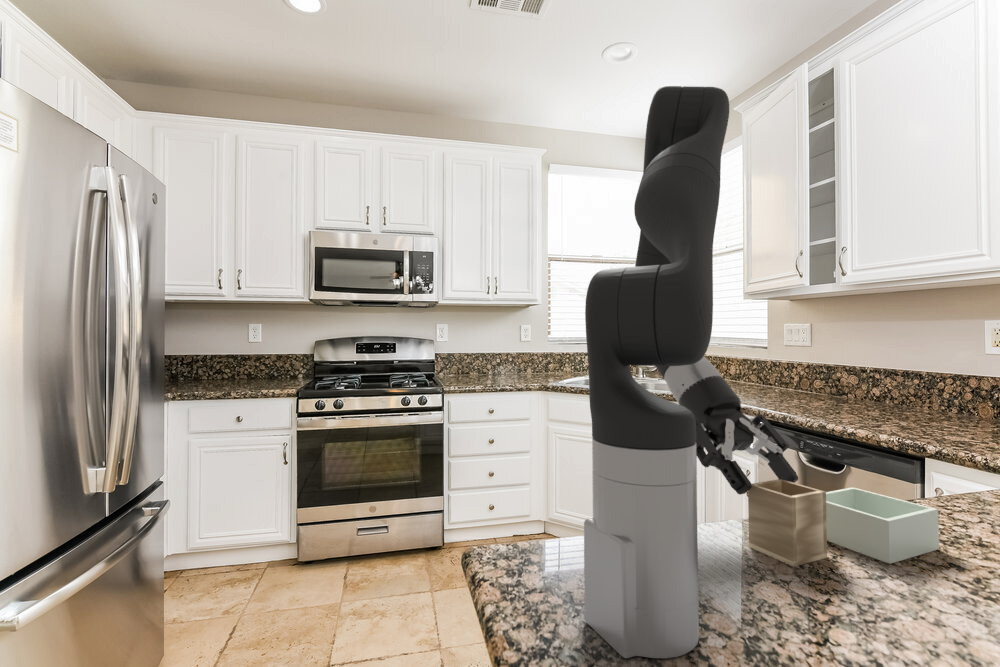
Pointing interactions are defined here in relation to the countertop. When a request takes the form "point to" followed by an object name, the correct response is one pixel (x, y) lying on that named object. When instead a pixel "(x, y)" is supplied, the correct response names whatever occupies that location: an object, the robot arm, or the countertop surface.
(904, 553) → the sage crate
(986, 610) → the countertop surface
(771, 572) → the countertop surface
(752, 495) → the birch crate
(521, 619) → the countertop surface
